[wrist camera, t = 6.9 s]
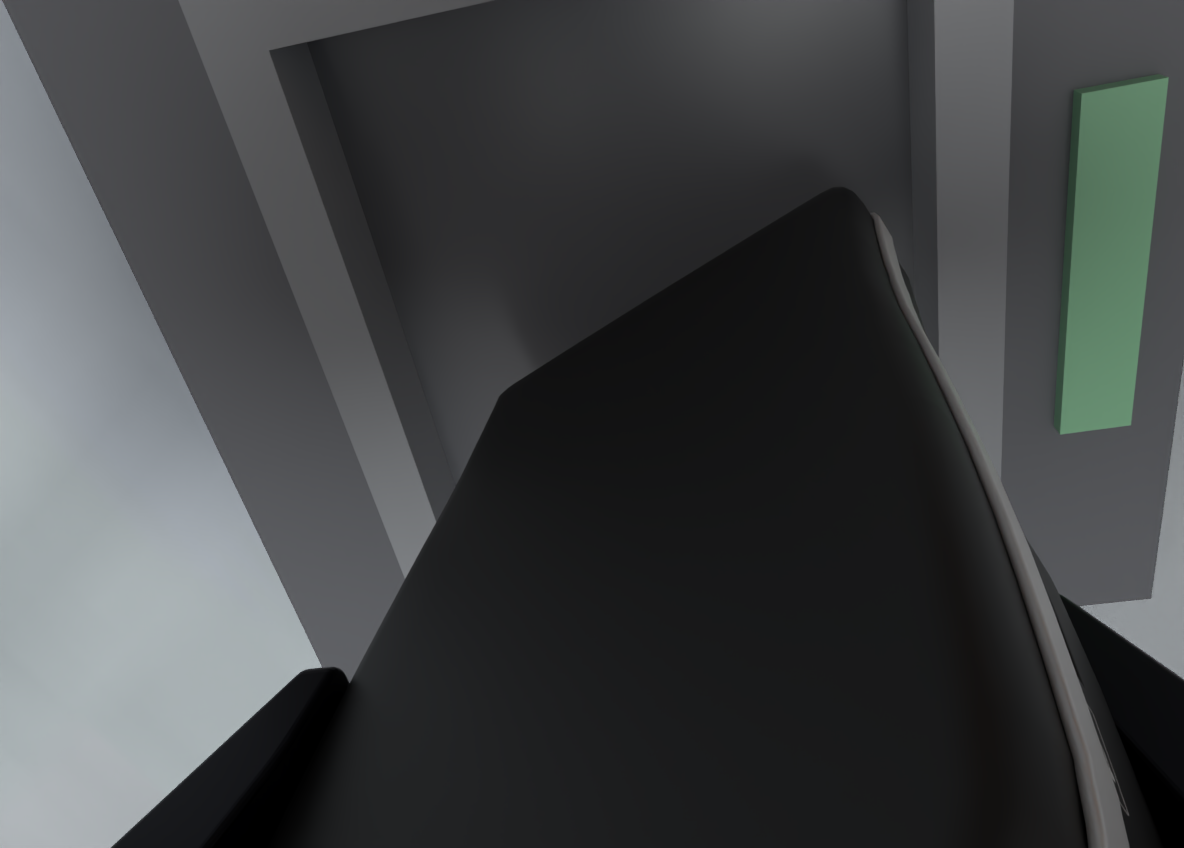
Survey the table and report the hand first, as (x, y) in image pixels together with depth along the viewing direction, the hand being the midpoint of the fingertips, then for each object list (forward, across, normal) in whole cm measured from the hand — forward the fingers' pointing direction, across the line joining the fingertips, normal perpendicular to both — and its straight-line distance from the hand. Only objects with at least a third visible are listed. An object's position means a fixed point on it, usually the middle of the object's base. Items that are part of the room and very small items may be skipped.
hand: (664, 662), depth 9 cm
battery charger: (+6, -1, 0) cm, 6 cm away
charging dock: (+9, 0, 0) cm, 9 cm away
